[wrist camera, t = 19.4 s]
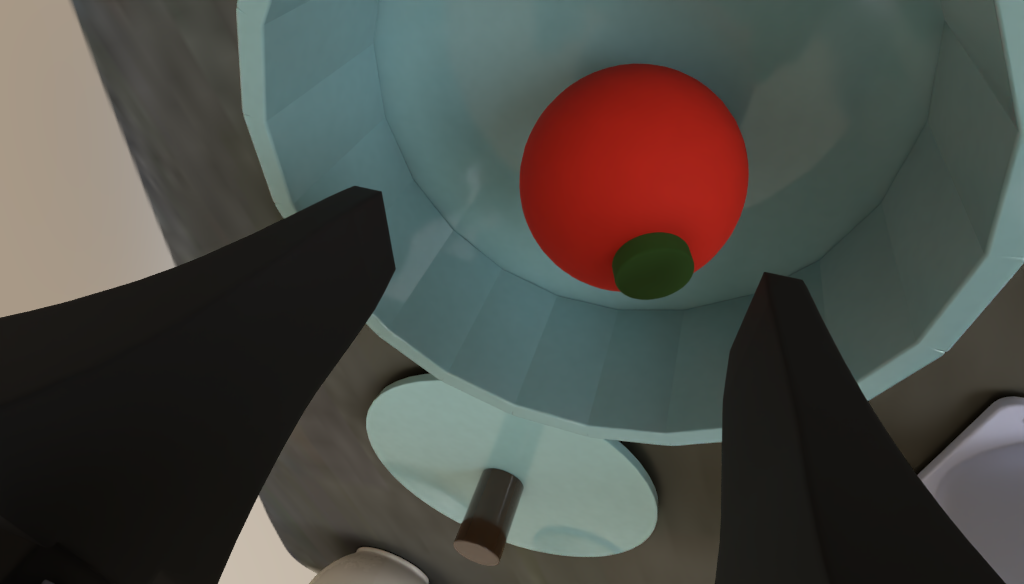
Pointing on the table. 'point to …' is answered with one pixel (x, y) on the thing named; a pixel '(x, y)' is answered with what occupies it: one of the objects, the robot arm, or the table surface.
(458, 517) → the pan lid
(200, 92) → the table surface
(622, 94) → the tomato
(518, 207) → the pan
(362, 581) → the lidded bowl
